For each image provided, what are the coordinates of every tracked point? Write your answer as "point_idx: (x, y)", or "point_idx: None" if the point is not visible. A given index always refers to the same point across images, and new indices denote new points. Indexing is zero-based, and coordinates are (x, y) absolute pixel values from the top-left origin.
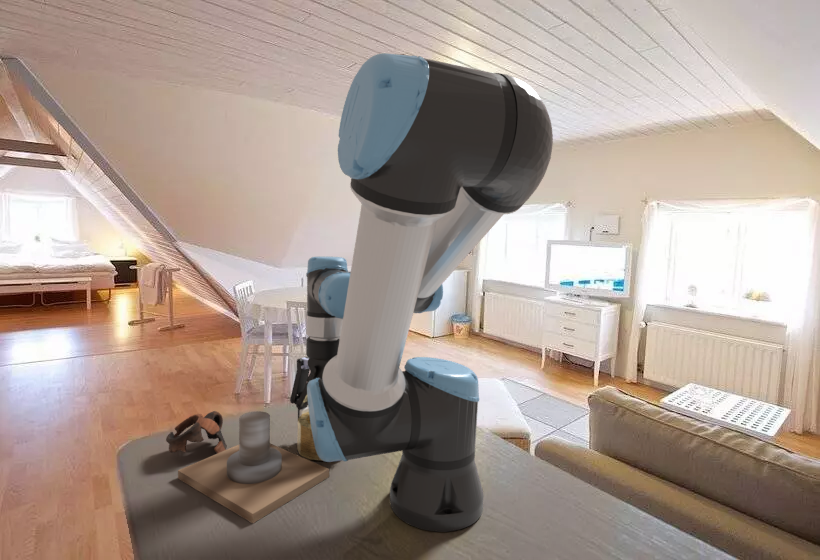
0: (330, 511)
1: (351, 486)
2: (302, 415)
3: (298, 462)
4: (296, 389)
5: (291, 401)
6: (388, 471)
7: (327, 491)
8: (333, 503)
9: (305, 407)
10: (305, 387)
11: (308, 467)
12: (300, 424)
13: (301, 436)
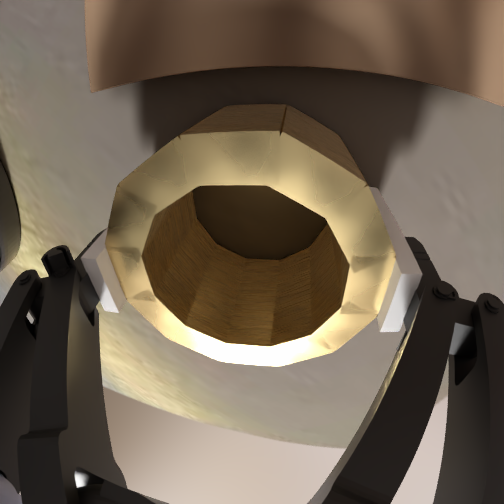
0: (21, 24)
1: (47, 111)
2: (383, 248)
3: (203, 33)
4: (492, 383)
5: (492, 299)
6: (55, 219)
7: (65, 49)
8: (31, 40)
9: (407, 311)
10: (412, 438)
11: (144, 41)
12: (290, 136)
13: (278, 118)
